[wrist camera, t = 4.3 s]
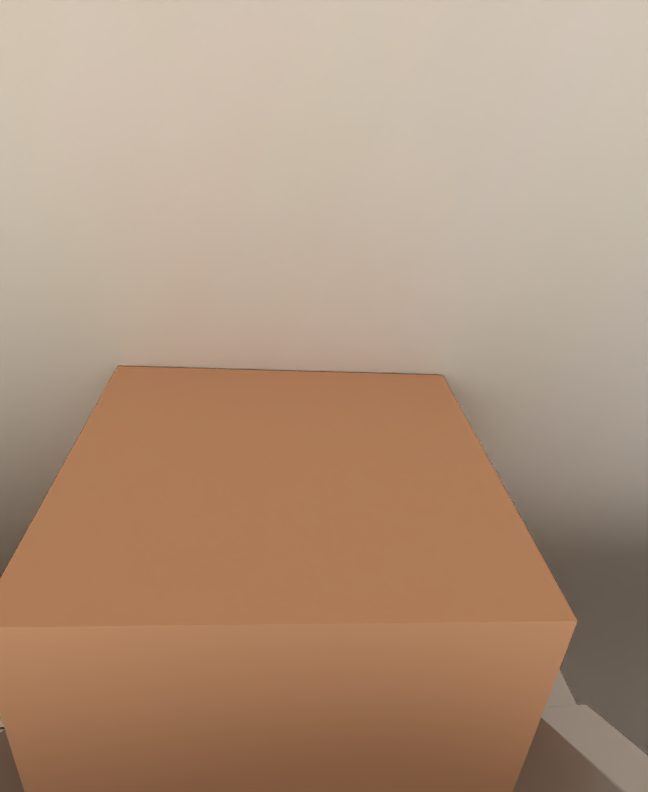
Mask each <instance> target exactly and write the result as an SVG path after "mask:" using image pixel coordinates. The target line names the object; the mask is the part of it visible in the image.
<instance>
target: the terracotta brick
mask: <svg viewBox="0 0 648 792" xmlns="http://www.w3.org/2000/svg"><path fill="white" fill-rule="evenodd" d="M577 622H578V621H577V619H576V617H575V615H574V614H573V612H572V610H571V608H570V606H569V604H568V603H567V601H566V599H565V597H564V595H563V593H562V592H561V590H560V588H559V586H558V584H557V583H556V581H555V579H554V577H553V575H552V573H551V572H550V570H549V568H548V566H547V564H546V562H545V561H544V559H543V557H542V555H541V553H540V552H539V550H538V548H537V546H536V544H535V542H534V541H533V539H532V537H531V535H530V533H529V531H528V530H527V528H526V526H525V524H524V522H523V521H522V519H521V517H520V515H519V513H518V511H517V510H516V508H515V506H514V504H513V502H512V500H511V499H510V497H509V495H508V493H507V491H506V490H505V488H504V486H503V484H502V482H501V480H500V479H499V477H498V475H497V473H496V471H495V469H494V468H493V466H492V464H491V462H490V460H489V459H488V457H487V455H486V453H485V451H484V449H483V448H482V446H481V444H480V442H479V440H478V438H477V437H476V435H475V433H474V431H473V429H472V428H471V426H470V424H469V422H468V420H467V418H466V417H465V415H464V413H463V411H462V409H461V407H460V406H459V404H458V402H457V400H456V398H455V397H454V395H453V393H452V391H451V389H450V387H449V386H448V384H447V382H446V380H445V378H444V376H443V375H422V374H386V373H350V372H314V371H278V370H242V369H206V368H170V367H134V366H117V368H116V370H115V372H114V374H113V376H112V377H111V379H110V381H109V383H108V385H107V386H106V388H105V390H104V392H103V394H102V395H101V397H100V399H99V401H98V403H97V404H96V406H95V408H94V410H93V412H92V414H91V415H90V417H89V419H88V421H87V423H86V424H85V426H84V428H83V430H82V432H81V433H80V435H79V437H78V439H77V441H76V442H75V444H74V446H73V448H72V450H71V452H70V453H69V455H68V457H67V459H66V461H65V462H64V464H63V466H62V468H61V470H60V471H59V473H58V475H57V477H56V479H55V480H54V482H53V484H52V486H51V488H50V489H49V491H48V493H47V495H46V497H45V499H44V500H43V502H42V504H41V506H40V508H39V509H38V511H37V513H36V515H35V517H34V518H33V520H32V522H31V524H30V526H29V527H28V529H27V531H26V533H25V535H24V537H23V538H22V540H21V542H20V544H19V546H18V547H17V549H16V551H15V553H14V555H13V556H12V558H11V560H10V562H9V564H8V565H7V567H6V569H5V571H4V573H3V575H2V576H1V578H0V715H1V719H2V722H3V725H4V728H5V731H6V735H7V738H8V741H9V744H10V747H11V751H12V754H13V757H14V760H15V763H16V767H17V770H18V773H19V776H20V779H21V783H22V786H23V789H24V792H513V790H514V787H515V784H516V782H517V779H518V777H519V774H520V771H521V769H522V766H523V763H524V761H525V758H526V756H527V753H528V750H529V748H530V745H531V742H532V740H533V737H534V735H535V732H536V729H537V727H538V724H539V721H540V719H541V716H542V714H543V711H544V708H545V706H546V703H547V700H548V698H549V695H550V693H551V690H552V687H553V685H554V682H555V679H556V677H557V674H558V672H559V669H560V666H561V664H562V661H563V658H564V656H565V653H566V651H567V648H568V645H569V643H570V640H571V637H572V635H573V632H574V630H575V627H576V624H577Z"/></svg>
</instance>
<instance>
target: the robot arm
mask: <svg viewBox="0 0 648 792" xmlns="http://www.w3.org/2000/svg"><path fill="white" fill-rule="evenodd" d="M0 792H24V789H23V786H22V783H21V779H20V776H19V773H18V770H17V767H16V763H15V760H14V757H13V754H12V751H11V747H10V744H9V741H8V738H7V735H6V731H5V728H4V725H3V722H2V719H1V715H0ZM513 792H648V755H647V754H646V753H644V752H643V751H642V750H641V749H640V748H638V747H637V746H636V745H635V744H633V743H632V742H631V741H630V740H629V739H627V738H626V737H625V736H624V735H623V734H621V733H620V732H619V731H618V730H617V729H615V728H614V727H613V726H612V725H611V724H609V723H608V722H607V721H606V720H604V719H603V718H602V717H601V716H600V715H598V714H597V713H596V712H595V711H594V710H592V709H591V708H590V707H589V706H588V705H577V704H576V702H575V700H574V698H573V695H572V693H571V691H570V689H569V687H568V685H567V683H566V681H565V679H564V677H563V675H562V673H561V671H560V669H559V672H558V674H557V677H556V679H555V682H554V685H553V687H552V690H551V693H550V695H549V698H548V700H547V703H546V706H545V708H544V711H543V714H542V716H541V719H540V721H539V724H538V727H537V729H536V732H535V735H534V737H533V740H532V742H531V745H530V748H529V750H528V753H527V756H526V758H525V761H524V763H523V766H522V769H521V771H520V774H519V777H518V779H517V782H516V784H515V787H514V790H513Z"/></svg>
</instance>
